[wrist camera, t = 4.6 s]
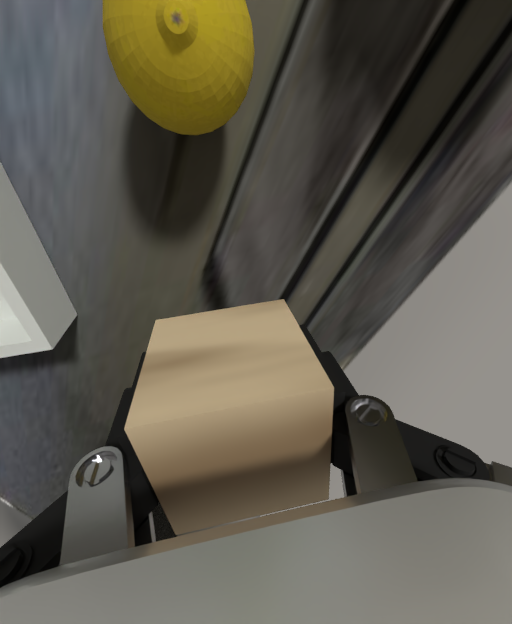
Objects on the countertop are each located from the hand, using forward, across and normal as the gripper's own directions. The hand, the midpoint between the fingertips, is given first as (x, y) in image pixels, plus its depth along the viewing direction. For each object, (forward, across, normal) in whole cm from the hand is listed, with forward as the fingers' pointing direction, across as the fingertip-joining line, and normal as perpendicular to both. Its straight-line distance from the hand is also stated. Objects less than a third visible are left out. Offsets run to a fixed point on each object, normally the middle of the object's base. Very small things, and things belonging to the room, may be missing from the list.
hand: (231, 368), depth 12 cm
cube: (+1, 0, 0) cm, 1 cm away
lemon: (+10, 0, -12) cm, 15 cm away
